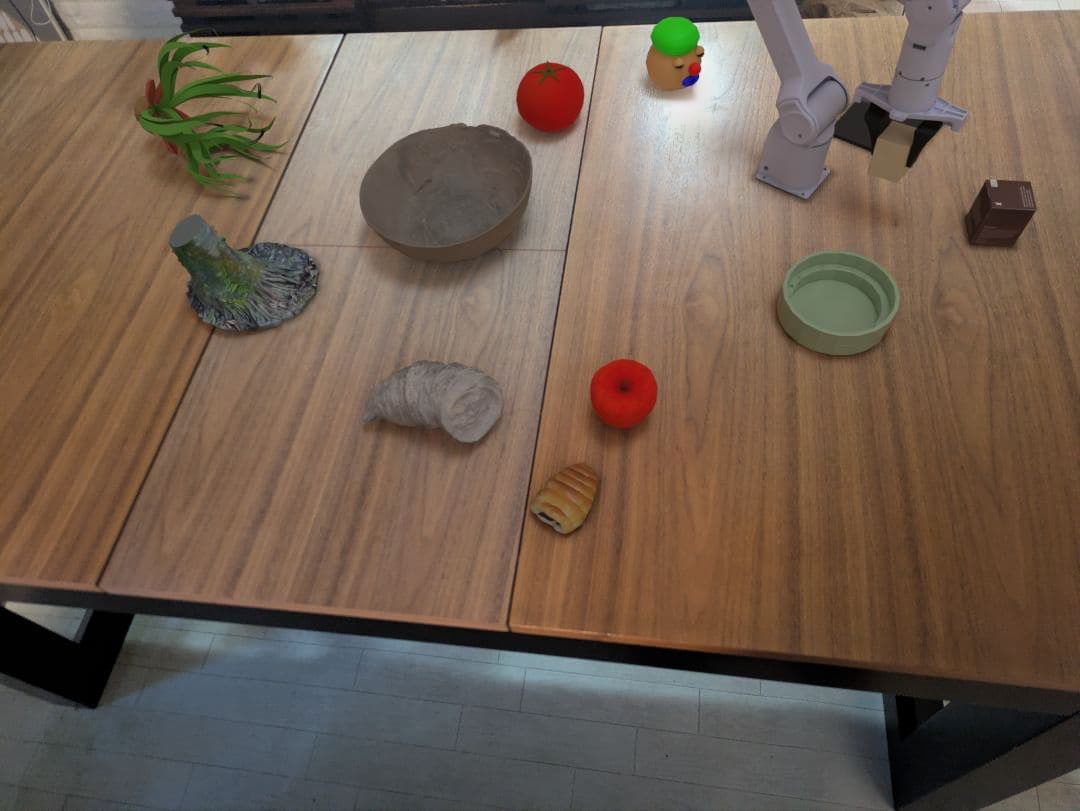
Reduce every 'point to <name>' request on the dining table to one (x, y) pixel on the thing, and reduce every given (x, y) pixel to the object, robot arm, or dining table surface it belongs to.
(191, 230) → the tree stump
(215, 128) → the decorative plant
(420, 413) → the seashell
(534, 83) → the tomato
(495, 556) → the dining table surface
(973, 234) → the box
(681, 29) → the figurine
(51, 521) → the dining table surface
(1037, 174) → the dining table surface
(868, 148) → the mat
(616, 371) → the apple
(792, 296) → the green bowl
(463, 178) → the bowl
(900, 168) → the block
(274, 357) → the dining table surface
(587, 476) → the pastry
